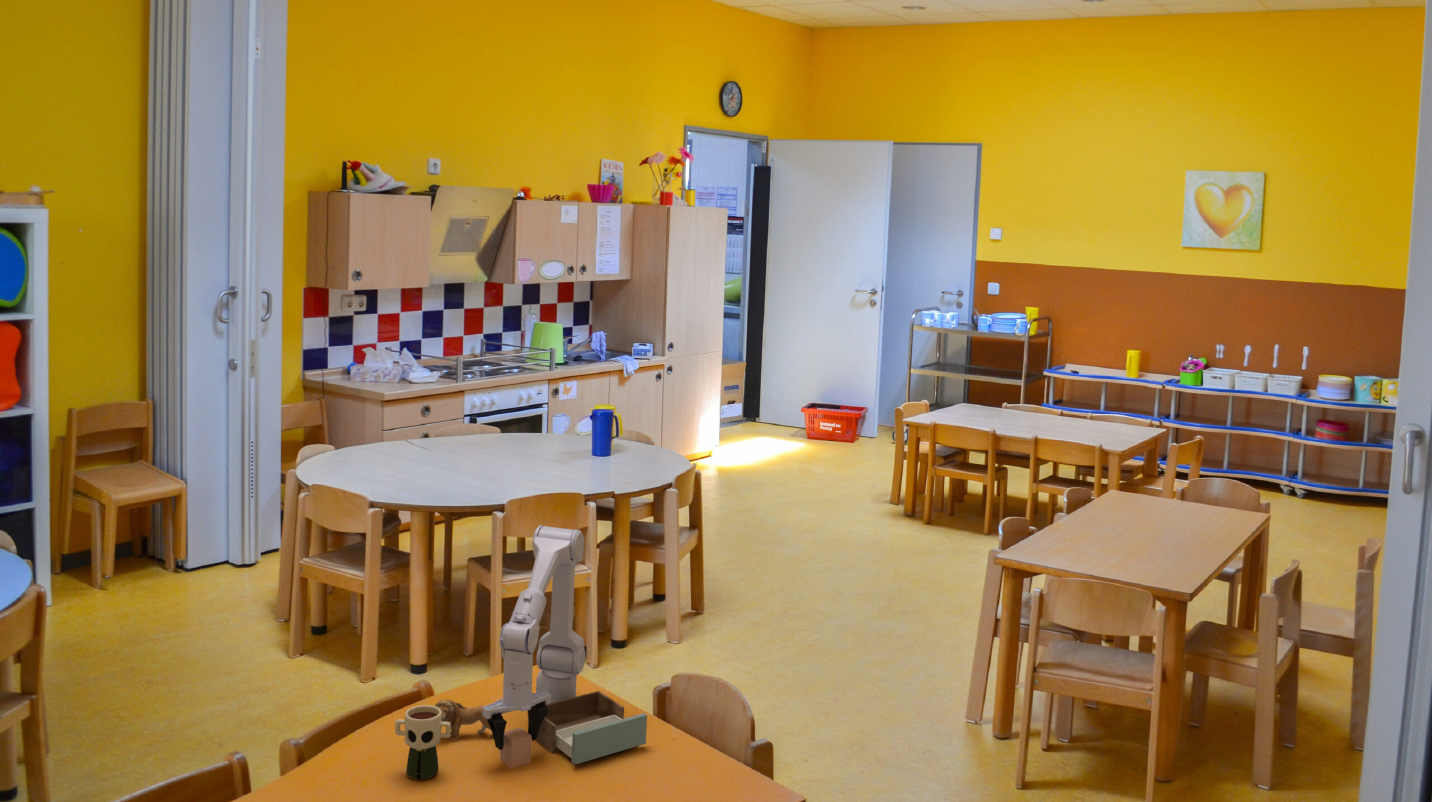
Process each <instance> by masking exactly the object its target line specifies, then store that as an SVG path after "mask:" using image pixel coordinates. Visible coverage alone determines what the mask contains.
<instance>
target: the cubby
mask: <svg viewBox="0 0 1432 802" xmlns="http://www.w3.org/2000/svg"><path fill="white" fill-rule="evenodd" d="M545 705H546V706H547V707H548V713H547V715H546V716H545V718H544V720H543V722H542V724H541V726H540V729H539V732H538V735H537V739H536V740H535V741H536V742H537V743H538V744H540V745H541V746H543V748H545V749H547V750H548V751H549V752H550V753H552V754H555V753H558V752H559V753H560V752H562V751H561V750H560V749H558V748H557V747H556V730H560V729H564V728H567V727H571V726H575V725H578V724H582V723H586V722H589V721H593V720H597V719H600V718H604V717H608V716H611V715H616V716H618V717H619V718H621V719H624V718H625V706H624V705H622V704H620V703H619V702H617V701H615V700H614V699H612V698H610V696H607V695H606V694H605V693H603V692H602V691H600V690H597V691H593V692H589V693H585V694H581V695H576V697H573V698H569V699H565V700H561V701H557V702H553V703H550V704H545Z"/></svg>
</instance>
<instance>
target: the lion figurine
mask: <svg viewBox="0 0 1432 802" xmlns="http://www.w3.org/2000/svg"><path fill="white" fill-rule="evenodd" d="M434 706H436V707H438V708H440V710H441V711H442V720H441V721H442V722H450V724H451V736H450V737H452V738H451V742H457V741H459V738H460V730H461V726H463V725H464V726H469V725H473V724H475V723H477V722H478V721H479V722H480V723H481V726H482V727H481V729H477V734H483V733H484V732H485V731H486V730H487V729H488V730H490V731H491V728H490V726H489V723H488V722H487V720H486V718H485V717H484V716H482V712H483V707H484V706H485V705H477V706H474V707H473V706H472V707H471V706H470V707H465V706H463V704H461V703H460V702H456V701H453V700H452V699H451V700H450V699H439V700H438V701H437V702H436V703H435V704H434ZM489 737H490V738H491V739H493V740H494V737H493V734H492V733H491V734H490V736H489Z"/></svg>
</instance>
